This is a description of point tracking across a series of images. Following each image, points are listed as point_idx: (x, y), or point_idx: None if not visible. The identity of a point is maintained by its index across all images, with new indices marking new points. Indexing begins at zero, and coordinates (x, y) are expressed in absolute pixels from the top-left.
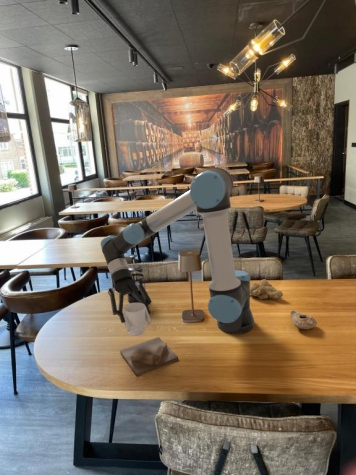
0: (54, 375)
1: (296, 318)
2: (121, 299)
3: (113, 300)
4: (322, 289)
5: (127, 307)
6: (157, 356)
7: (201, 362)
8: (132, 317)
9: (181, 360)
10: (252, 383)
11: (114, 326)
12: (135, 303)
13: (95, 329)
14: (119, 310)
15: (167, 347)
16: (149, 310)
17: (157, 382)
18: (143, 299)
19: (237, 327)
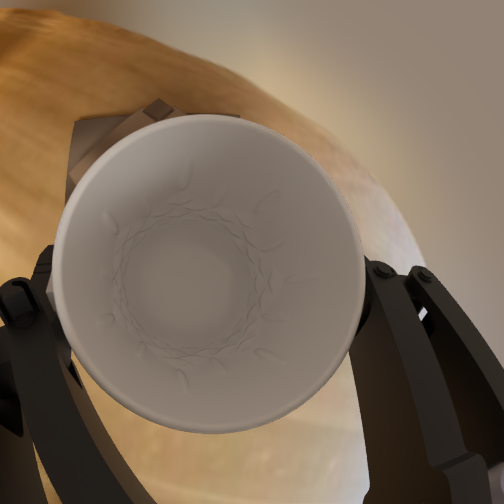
0: (419, 254)
1: None
2: (437, 402)
3: (492, 365)
4: None
5: (292, 378)
6: (151, 107)
7: (39, 92)
8: (266, 173)
9: (72, 119)
10: (33, 23)
11: (243, 477)
12: (176, 415)
13: (312, 468)
14: (399, 280)
15: (70, 192)
16: (37, 270)
17: (190, 73)
18: (25, 397)
19: None
